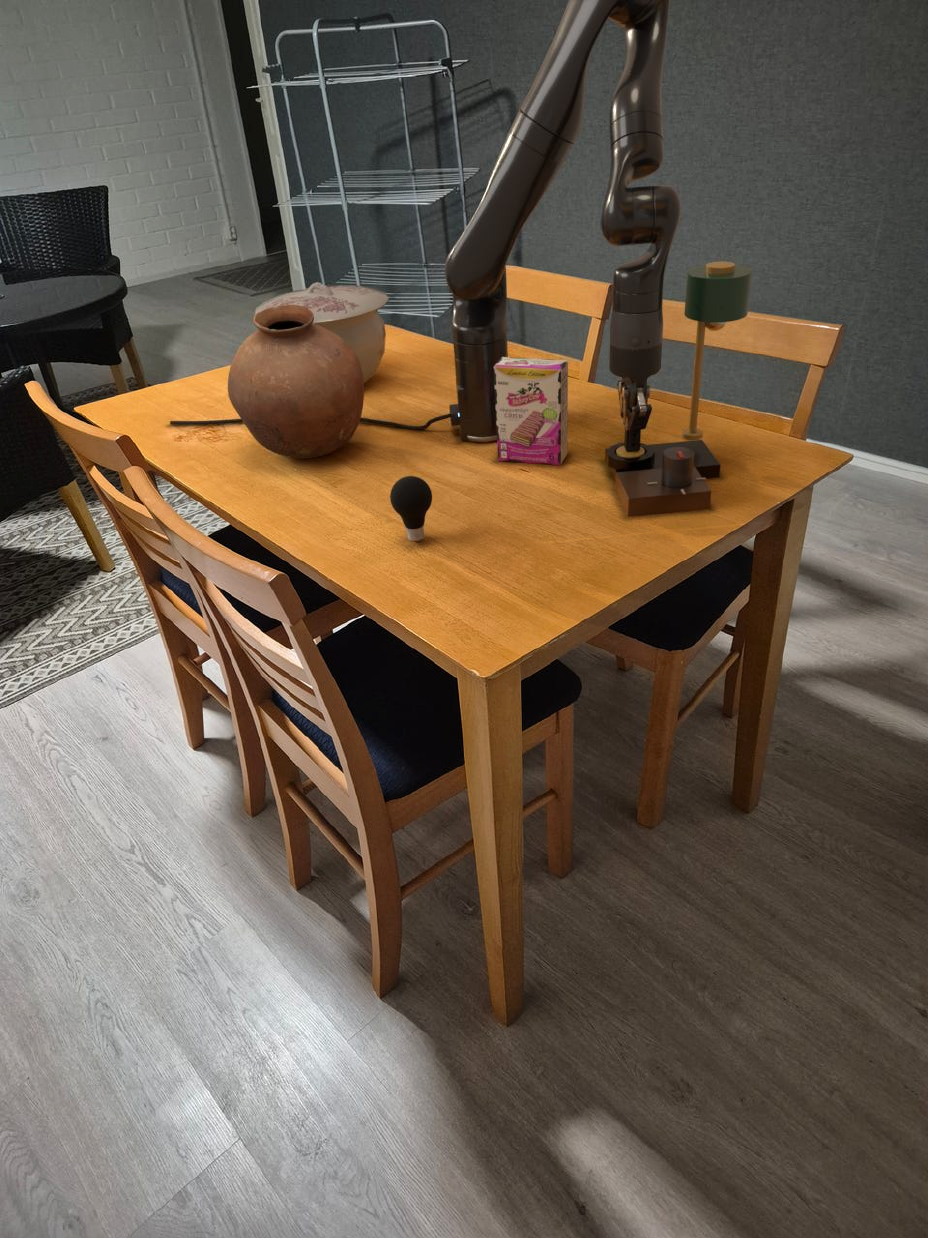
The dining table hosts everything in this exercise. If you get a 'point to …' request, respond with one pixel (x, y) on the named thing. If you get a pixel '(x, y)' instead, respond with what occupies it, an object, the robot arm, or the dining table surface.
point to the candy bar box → (531, 410)
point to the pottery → (296, 384)
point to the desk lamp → (713, 314)
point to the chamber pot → (345, 317)
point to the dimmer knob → (677, 467)
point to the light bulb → (412, 504)
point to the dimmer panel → (660, 493)
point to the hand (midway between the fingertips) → (631, 449)
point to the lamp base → (654, 458)
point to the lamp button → (629, 453)
